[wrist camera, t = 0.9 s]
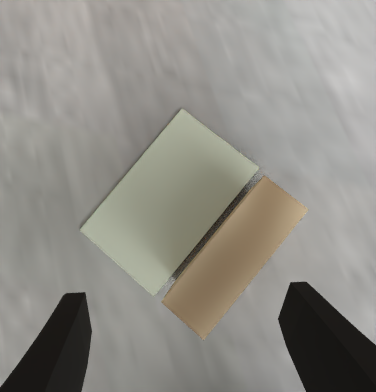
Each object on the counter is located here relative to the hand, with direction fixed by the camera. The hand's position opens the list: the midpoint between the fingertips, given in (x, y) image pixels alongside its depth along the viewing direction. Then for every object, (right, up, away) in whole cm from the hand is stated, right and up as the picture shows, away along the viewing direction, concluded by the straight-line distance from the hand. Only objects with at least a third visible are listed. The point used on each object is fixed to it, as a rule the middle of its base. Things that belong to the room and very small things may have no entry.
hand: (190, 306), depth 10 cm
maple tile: (+3, 0, +12) cm, 13 cm away
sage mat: (-2, +4, +13) cm, 14 cm away
